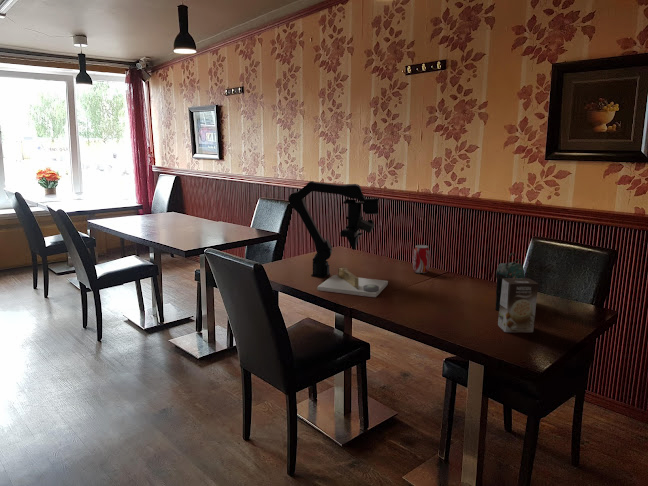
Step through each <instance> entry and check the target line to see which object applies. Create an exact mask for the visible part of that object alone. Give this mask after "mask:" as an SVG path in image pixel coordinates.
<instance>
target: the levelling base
mask: <svg viewBox="0 0 648 486" xmlns="http://www.w3.org/2000/svg"><path fill="white" fill-rule="evenodd" d="M358 278H359V280H358V287H354V286H352V285H351V284H350V283H348V282H347V281H346V280H345V279H343V278H339V277H338V275H337V274H333V275H332V276H330V277H329V278H327V279H326V280H325V281H323V282H322V283H321V284H318V286H317V291H322V292H328V293H330V292H331V293H337V294H338V293H339V294H346V295H352V296H353V295H354V296H362V297H370V298H377V296H379V295H380V294H381V292H382V291H383V290H384V289H385V288H386V287H387V286H388V285H389V284H388V283H389V281H388V280H384V279H383V280H382V279H375V278H365V277H358Z"/></svg>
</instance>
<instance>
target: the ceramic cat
mask: <svg viewBox="0 0 648 486" xmlns="http://www.w3.org/2000/svg"><path fill="white" fill-rule="evenodd" d="M511 256H513V257H515V253H514V252H510V254H509V256H508V261H507V262H505V263H504V262H501V263H499V264H498V266H497V269H496V273H495V278H496V288H495V294H496V295H495V310H496V311H498V312H499V308H500V298H501V288H502V278H526V277H525V268H524V266H523V265H522V260H521V259H519V258H517V259H515V260H514V261H512V262H510V258H511ZM517 261H518V262H519V263H518V262H517Z"/></svg>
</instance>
